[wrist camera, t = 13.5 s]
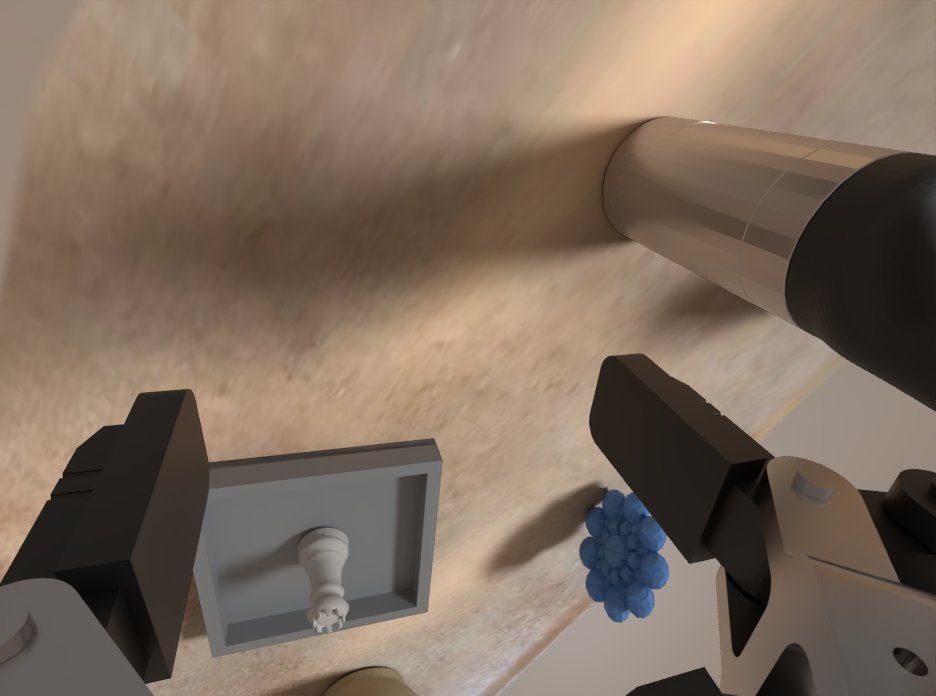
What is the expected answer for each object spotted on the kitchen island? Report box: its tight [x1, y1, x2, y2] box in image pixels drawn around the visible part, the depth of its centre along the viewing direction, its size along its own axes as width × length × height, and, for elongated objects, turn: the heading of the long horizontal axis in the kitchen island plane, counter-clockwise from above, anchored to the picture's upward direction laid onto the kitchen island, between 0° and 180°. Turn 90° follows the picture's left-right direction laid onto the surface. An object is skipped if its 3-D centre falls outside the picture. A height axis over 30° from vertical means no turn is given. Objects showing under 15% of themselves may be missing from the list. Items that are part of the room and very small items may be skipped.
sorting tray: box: [193, 439, 443, 658], centre depth 46 cm, size 20×20×3 cm
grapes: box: [579, 490, 669, 623], centre depth 52 cm, size 12×7×12 cm, turn 148°
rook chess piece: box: [298, 527, 349, 634], centre depth 43 cm, size 4×4×8 cm
